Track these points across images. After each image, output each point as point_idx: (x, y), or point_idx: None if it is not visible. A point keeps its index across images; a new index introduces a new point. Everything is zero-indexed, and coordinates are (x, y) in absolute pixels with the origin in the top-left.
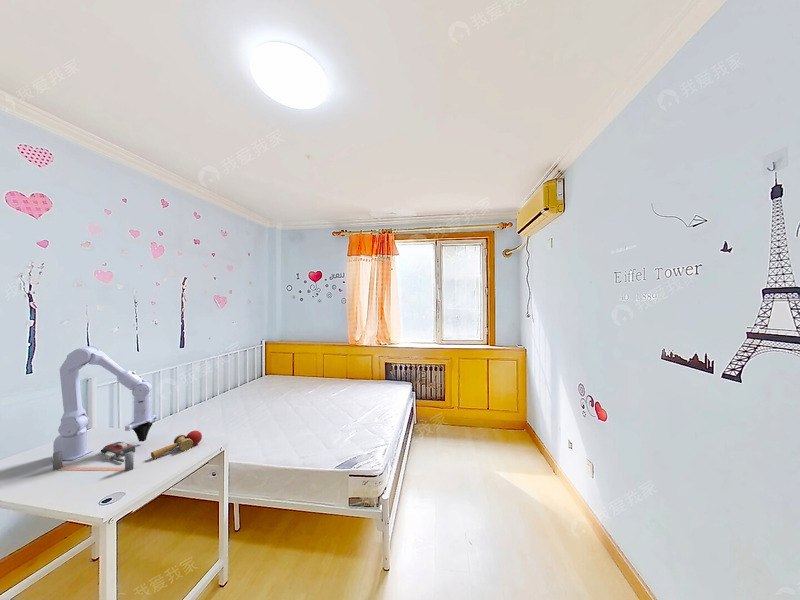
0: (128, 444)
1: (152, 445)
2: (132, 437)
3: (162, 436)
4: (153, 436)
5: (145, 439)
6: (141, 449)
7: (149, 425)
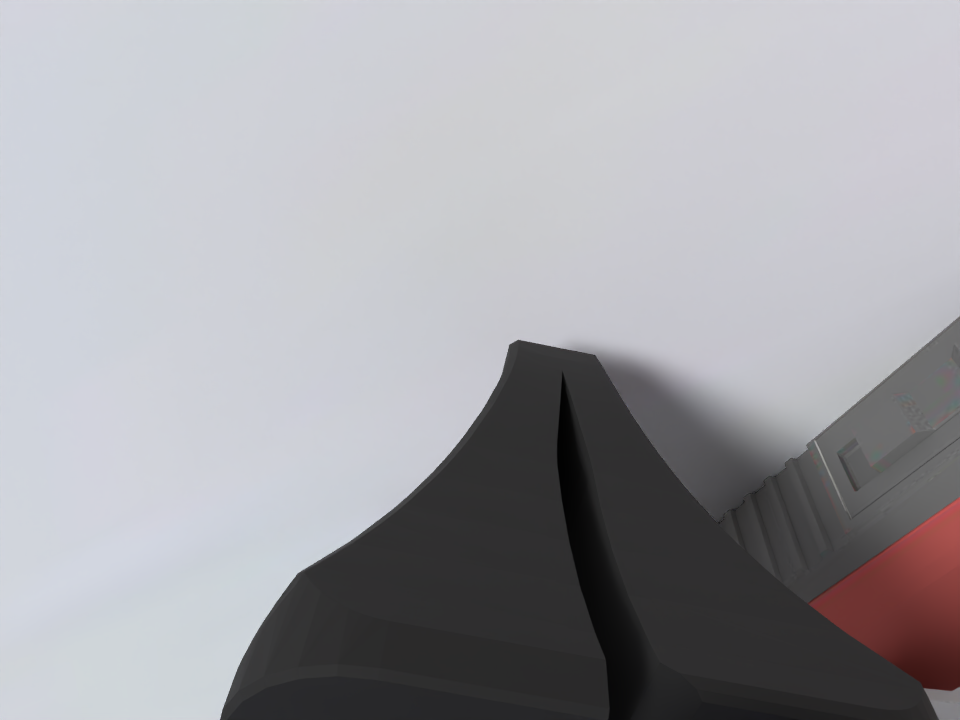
0: (916, 544)
1: (731, 13)
2: (172, 661)
3: (62, 113)
4: (91, 348)
5: (534, 351)
6: (942, 179)
7: (526, 630)
